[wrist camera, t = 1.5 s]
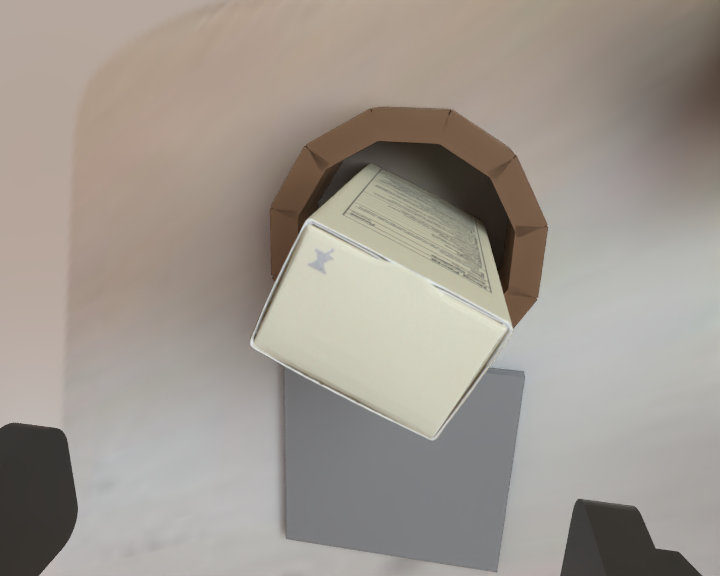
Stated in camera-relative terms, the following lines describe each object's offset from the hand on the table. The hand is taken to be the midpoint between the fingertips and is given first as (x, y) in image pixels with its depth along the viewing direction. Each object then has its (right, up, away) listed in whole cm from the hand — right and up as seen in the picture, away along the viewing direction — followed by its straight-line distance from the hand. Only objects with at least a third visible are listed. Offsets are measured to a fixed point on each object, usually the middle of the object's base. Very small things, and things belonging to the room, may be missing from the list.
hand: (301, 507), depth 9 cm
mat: (+3, -6, +22) cm, 23 cm away
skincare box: (+3, +6, +18) cm, 19 cm away
